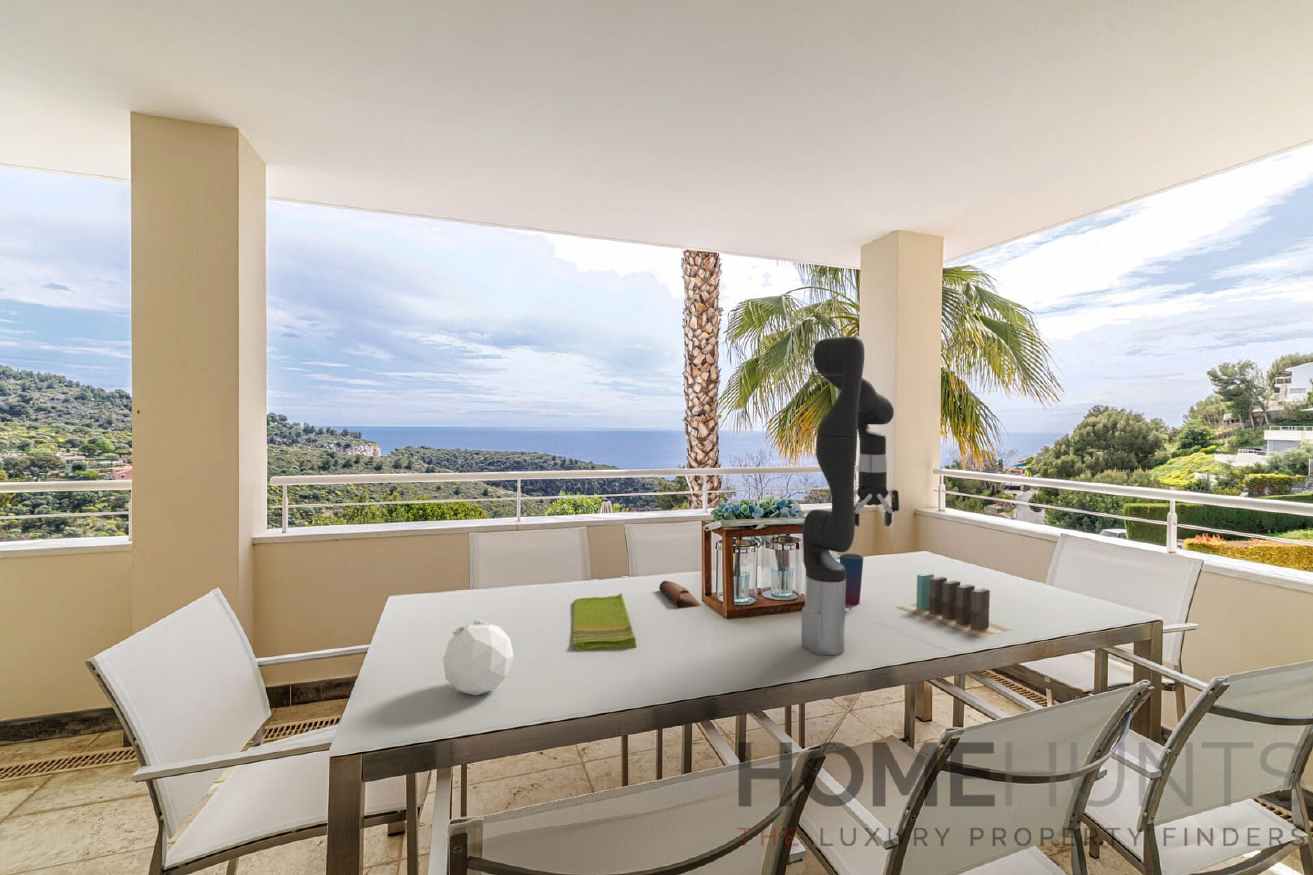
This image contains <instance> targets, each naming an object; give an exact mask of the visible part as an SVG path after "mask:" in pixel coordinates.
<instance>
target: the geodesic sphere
mask: <svg viewBox="0 0 1313 875" xmlns="http://www.w3.org/2000/svg"><path fill="white" fill-rule="evenodd" d="M452 634H453V636H452V637H451V638H450V639H449V640H448V643H447V646H446V649H445V652H444V655H443V659H442V660H443V667H444V668H443V669H444V677H445V680H447V681H448V683H449V684H451V686H452V687H453V688H454V689H455V690H456V691H458V692H461V693H463V694H468V695H472V696H479V695H482V694H485V693H488V692H491V691H494V690H496V689H497V688H498V687H499V685H500V684H501V683H502V682H503V681H504V680H505V678H507V677H508V674H509V673H510V669H511V666H512V664H513V660H514V658H515V656H514V651H513V646H512V642H511V639H510V637H509V636H508V635H507V633H506V632H505V631H504V630H503V629H502V627H501V626H499V625H495V624H491V623H488V622H485V621H479V620H478V621H477V620H474V622H473V624H469V625H466V626H461V627H458V628H456V630H454V631H453V632H452Z"/></svg>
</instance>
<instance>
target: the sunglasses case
mask: <svg viewBox="0 0 1313 875" xmlns="http://www.w3.org/2000/svg"><path fill="white" fill-rule="evenodd" d="M658 589H659V591H660V592H661V593H663V594H664V595H665V596H666V597H667V598H668V599H669V600H670V601H671V602H672V603H673V605H674V606H676V607H677V608H678V609H686V608H694V607H702V605H701V603H700V602H699V601H698V600H697V599H696V597H695V596H694V595H693V594H691V593H690V591H689V589H687V588H686V587H684V586H682V585H679V584H678V583H676V582H673V581H670V580H662V581H661V583H660V584H659V586H658Z"/></svg>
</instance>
